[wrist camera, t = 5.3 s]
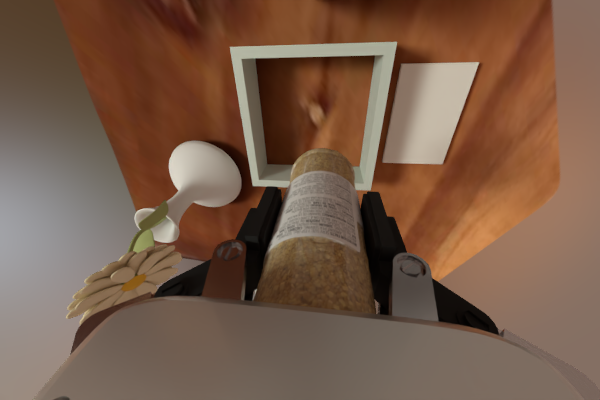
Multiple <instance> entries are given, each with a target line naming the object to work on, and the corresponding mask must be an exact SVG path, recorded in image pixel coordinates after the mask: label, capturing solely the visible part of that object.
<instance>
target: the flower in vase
mask: <svg viewBox="0 0 600 400" xmlns="http://www.w3.org/2000/svg"><path fill="white" fill-rule="evenodd" d="M169 172H170V176H171V178H172V181H173V183H174V185H175V186H176V188H177V189H178V190H179V191H178V192H177V193H176V195H174V196H173V197H172V198H171V199H170V200H168V201H167V202H166V200H164V201H163V202H162V204H161V205H160V206H158V207H155V208H144V209H141V210H139V211H137V212H136V214H135V217H134V218H135V223H136V225H137V227H138V228H139V229H140V231H139V232H138V233H137V234H136V235H135V236H134V238H133V240H132V242H131V244H130V246H129V249H128V252H127V253H126V254H125V255H123V256H122V257H121V258H120V259H119V261H116V262H113V263H110V264H108V265H107V266H105V267H104V268H103V269H102V271H100V272H96V273H94V274H92V275H91V276H89V277H88V278H87V279H86V280H85V283H86V284H88V285H86V286H85V287H84V288H82V289H81V290H79V291H78V292H77V293H75V295H74V296H73V299H76V300H75V301H73V302H72V303H71V304H70V305H69V306H68V308H67V310H71V311H70V312H69V313H68V314H67V316H66V318H67V319H70V318H73V317H76V316H78V315H80V314H82V313H84V312H85V311H86V312H85V313H84V315H83V318H82V319H81V321H80V325H81V324H82V323H83V322H84V321H85V320H86V319H87V318H89V317H90V316H91V315H93V314H95V313H97V312H99V311H102V310H104V309H107V308H109V307H112V306H115V305H117V304H120V303H122V302H125V301H127V300H130V299H133V298H135V297H138V296H140V295H143V294H146V293H148V292H151V293H152V294H153V293H156V291H157V287H156V285H159V284H161V283H163V282H165V281H167V280H168V279H169V277H170V276H173V275H174V274H176V273H177V271H178V269H177V268H172V267H171V266H173V265H176V264H178V263H179V262H180V261H181V260H182V257H181V254H180V253H178V252H172V251H173V250H174V249H175V246H173V245H172V246H168V247H167V244H163V245H160V246H158V247H156V248H155V242H154V240H156V241H159V242H165V243H169V242H173V241H175V240H176V239H177V238H178V236H179V221H180V219H181V217H182V215H183V214H184V212H185V211H186V209H187V208H188V207H189V206H190V205H191V204H192V203H193V202H194V203H197V204H200V205H203V206H208V207H219V206H223V205H226V204H228V203H230V202H232V201H233V200H234V199H235V198H236V197H237V196H238V194H239V193H240V190H241V175H240V172H239V170H238V167H237V166H236V164H235V163H234V161H233V160H232V158H231V157H230V156H229V155H228V154H227V153H225V152H224V151H223V150H221V149H220V148H218V147H216V146H215V145H212V144H210V143H207V142H202V141H188V142H185V143H182V144H180V145H179V146H178V147H177V148H175V150H174V151H173V153H172V155H171V158H170V161H169ZM171 252H172V253H171Z"/></svg>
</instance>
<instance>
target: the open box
mask: <svg viewBox="0 0 600 400" xmlns="http://www.w3.org/2000/svg"><path fill="white" fill-rule="evenodd" d="M396 46H397V42H375V43H343V44H311V45H279V46H247V47H230V51H231V57H232V63H233V69H234V75H235V81H236V87H237V93H238V99H239V105H240V111H241V118H242V124H243V130H244V136H245V142H246V148H247V154H248V160H249V166H250V172H251V178H252V184H253V186H265V187H267V186H275V187H288V186H289V184H290V177H291V171H292V167H293V165H274V164H267V157H266V148H265V139H264V131H263V122H262V113H261V105H260V96H259V87H258V79H257V70H256V61H255V58H288V57H328V56H367V55H375V60H374V67H373V74H372V81H371V89H370V96H369V103H368V111H367V118H366V125H365V132H364V140H363V147H362V154H361V162H360V167H353V169H354V173H355V180H354V184H355V190H371V186H372V180H373V175H374V169H375V163H376V158H377V152H378V147H379V141H380V135H381V130H382V124H383V119H384V113H385V107H386V102H387V96H388V91H389V85H390V79H391V74H392V68H393V63H394V57H395V51H396Z"/></svg>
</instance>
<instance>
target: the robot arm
mask: <svg viewBox="0 0 600 400" xmlns="http://www.w3.org/2000/svg"><path fill="white" fill-rule="evenodd" d="M281 204H282V196H281V189H278V188H277V187H275V186H267V187H266V189H265V191H264V194H263V196H262V198H261V200H260V203H259V205H258V207H257V208H251V209H250V211H249V213H248V215H247V217H246V219H245V221H244V223H243V225H242V227H241V229H240V231H239V233H238V235H237V237H236V239H235V240H234V239H232V240H227V241H224V242H222V243H221V244H219V245H218V246H217V247H216V248H215V250H214V252H213V255H212V259H210V260H208V261H206V262H204V263H202V264H201V265H198V266H196V267H194V268H192V269H191V270H189V271H186V272H185V273H183V274H180V275H179V276H176V277H175V278H172V279H170V280H169V281H167V282H166V283H164V284H163V285H162V286H160V287H159V289H158V290H157V291H156V293H153V294H152V293H151V292H148V293H146V294H143V295H140V296H138V297H135V298H133V299H130V300H127V301H125V302H122V303H120V304H117V305H115V306H112V307H109V308H107V309H104V310H102V311H99V312H97V313H95V314H93V315H91V316H90V317H89V318H87V319H86V320H85V321H84V322H83V323H82V324H81V325H80V327H79V328H78V330H77V332H76V335H75V339H74V342H73V346H72V350H71V354H70V356H69V357H68V358H67V360H66V361H65V362H64V363H63V364H62V366H61V367H60V368H59V369H58V370H57V371H56V373H55V374H54V375H53V376H52V378H50V380H49V381H48V382H47V383H46V384H45V386H44V387H43V388H42V389H41V390H40V391H39V393H38V394H37V395H36V396H35V398H34V399H33V400H600V390H599V389H598V388H597V386H596V385H595V384H594V383H593V382H592V381H591V380H590V379H589V378H588V377H587V376H586V375H584V374H583V373H582V372H580V371H579V370H577V369H576V368H574V367H573V366H571V365H569V364H567V363H565V362H564V361H562V360H560V359H558V358H556V357H554V356H553V355H551V354H549V353H547V352H545V351H544V350H542V349H540V348H538V347H537V346H535V345H533V344H531V343H529V342H528V341H526V340H524V339H522V338H520V337H518V336H517V335H515V334H513V333H511V332H509V331H507V330H506V329H504V330H503V331H501V330H499V329H498V328H497V327H496V325H495V323H494V322H493V321H492V320H491V319H490V318H489V316H487V315H486V314H485V313H484V312H482V311H481V310H479V309H478V308H476V307H475V306H473V305H472V304H470V303H469V302H467V301H466V300H464V299H463V298H461V297H460V296H458V295H457V294H455V293H454V292H452V291H451V290H449V289H448V288H446V287H445V286H443V285H442V284H440V283H439V282H437V281H436V280H434V279H433V278H432V276H431V270H430V267H429V265H428V264H427V263H426V262H425V261H424V260H423V259H422V258H420V257H418V256H417V255H414V254H411V253H407V251H406V248H405V245H404V243H403V240H402V237H401V235H400V232H399V229H398V226H397V224H396V221H395V219H394V217H387V215H386V212H385V209H384V206H383V203H382V200H381V197H380V194H379V192H369V191H368V192H367V194H363V198H362V204H361V209H360V210H361V215H362V221H363V226H364V240H365V245H366V252H367V257H368V262H369V271H370V274H371V283H372V288H373V293H374V299H375V300H376V301H377V302H378V314H371V313H362V312H353V311H344V310H334V309H325V308H315V307H306V306H296V305H286V304H276V303H266V302H256V301H253V300H254V297H255V290H256V289H257V287H258V283H259V280H260V278H261V274H262V270H263V263H264V258H265V254H266V251H267V248H268V245H269V242H270V239H271V236H272V233H273V229H274V226H275V223H276V220H277V217H278V214H279V211H280V207H281Z"/></svg>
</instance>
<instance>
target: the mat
mask: <svg viewBox="0 0 600 400" xmlns="http://www.w3.org/2000/svg"><path fill="white" fill-rule="evenodd" d="M478 65H479V62H458V63H411V64H401V66H400V71H399V76H398V81H397V86H396V91H395V96H394V102H393V107H392V112H391V117H390V122H389V127H388V132H387V137H386V143H385V148H384V153H383V158H382V162H383V163H413V164H443V161H444V159H445V156H446V153H447V150H448V148H449V145H450V142H451V139H452V137H453V134H454V131H455V128H456V125H457V123H458V120H459V117H460V114H461V112H462V109H463V106H464V103H465V101H466V98H467V95H468V92H469V90H470V87H471V84H472V81H473V78H474V76H475V73H476V70H477V67H478Z"/></svg>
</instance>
